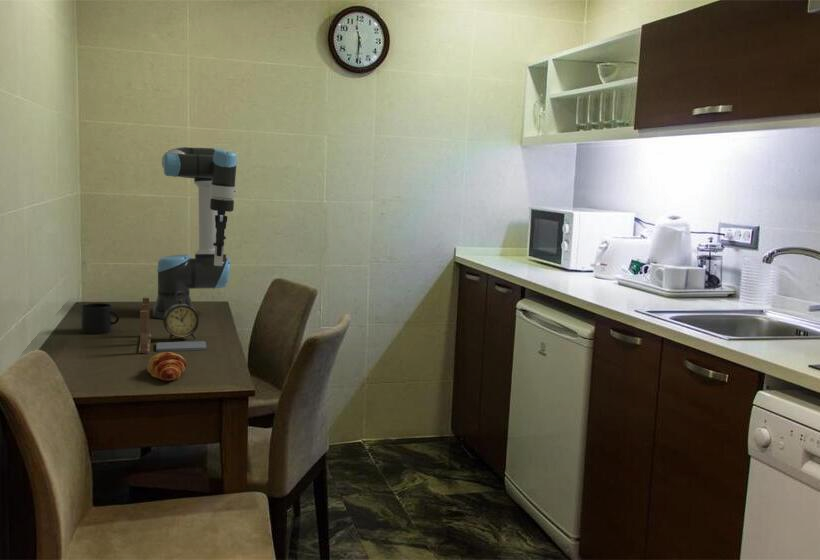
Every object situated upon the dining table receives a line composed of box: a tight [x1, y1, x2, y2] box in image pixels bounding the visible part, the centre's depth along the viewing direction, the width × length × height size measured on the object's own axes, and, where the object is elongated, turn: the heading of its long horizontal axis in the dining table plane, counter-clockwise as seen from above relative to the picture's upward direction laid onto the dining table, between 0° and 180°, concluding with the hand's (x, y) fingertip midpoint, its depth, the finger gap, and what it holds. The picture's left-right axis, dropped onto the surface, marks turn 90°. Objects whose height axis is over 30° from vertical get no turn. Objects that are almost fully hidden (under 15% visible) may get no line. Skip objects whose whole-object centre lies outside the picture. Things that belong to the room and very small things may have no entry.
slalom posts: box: [138, 297, 152, 354], centre depth 241 cm, size 26×3×13 cm, turn 18°
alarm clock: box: [162, 291, 200, 342], centre depth 249 cm, size 11×5×16 cm, turn 117°
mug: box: [80, 302, 120, 335], centre depth 257 cm, size 9×12×9 cm
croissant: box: [146, 351, 187, 382], centre depth 207 cm, size 21×10×8 cm, turn 24°
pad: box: [155, 340, 208, 352], centre depth 239 cm, size 9×15×1 cm, turn 108°
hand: (218, 261), depth 252 cm, fingers open, 13 cm apart
